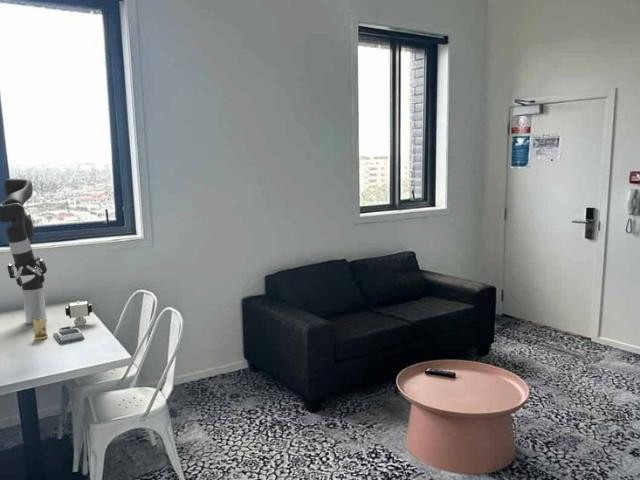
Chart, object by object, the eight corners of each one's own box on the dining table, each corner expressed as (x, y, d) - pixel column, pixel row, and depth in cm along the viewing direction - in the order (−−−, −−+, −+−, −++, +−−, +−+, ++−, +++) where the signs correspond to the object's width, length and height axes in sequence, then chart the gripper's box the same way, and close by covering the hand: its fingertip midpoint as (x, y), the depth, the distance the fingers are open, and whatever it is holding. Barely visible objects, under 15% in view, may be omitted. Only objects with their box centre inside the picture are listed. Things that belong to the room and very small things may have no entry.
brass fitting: (33, 338, 238) (31, 319, 237) (46, 335, 241) (44, 316, 240) (35, 341, 234) (33, 321, 233) (48, 338, 237) (46, 319, 236)
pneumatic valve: (93, 324, 257) (91, 300, 255) (67, 328, 252) (64, 303, 250) (93, 321, 262) (91, 298, 260) (67, 325, 257) (65, 301, 255)
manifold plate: (53, 335, 241) (52, 329, 240) (76, 331, 247) (75, 324, 246) (59, 344, 229) (59, 337, 228) (84, 339, 235) (83, 332, 234)
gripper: (41, 244, 225) (51, 277, 231) (6, 248, 223) (16, 283, 229) (37, 250, 218) (47, 285, 224) (0, 255, 216) (11, 290, 222)
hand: (31, 284), depth 227 cm, fingers open, 8 cm apart
